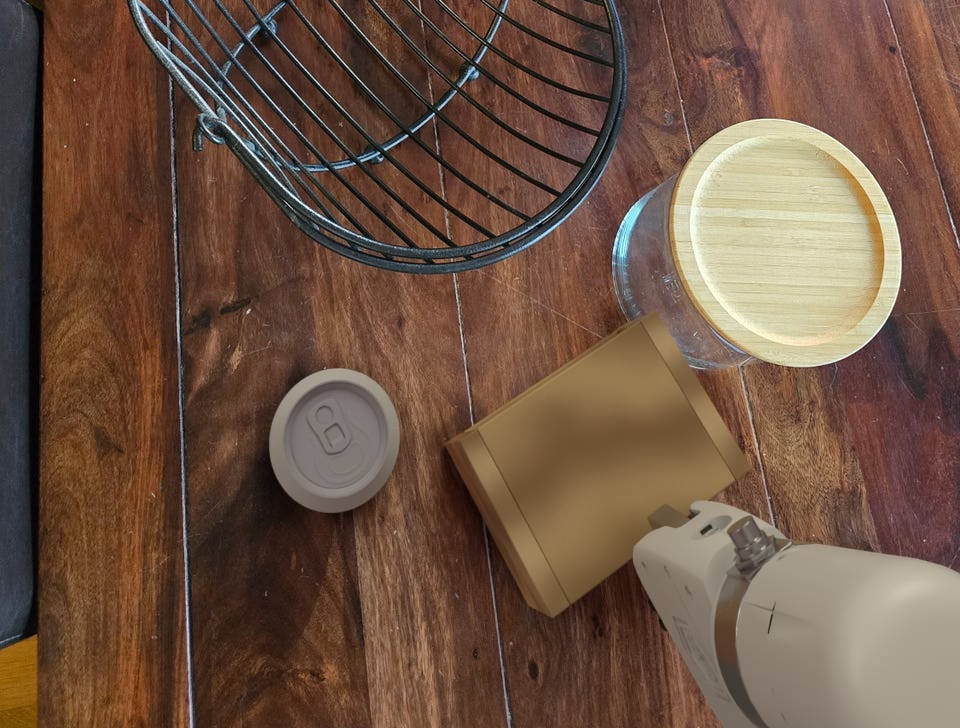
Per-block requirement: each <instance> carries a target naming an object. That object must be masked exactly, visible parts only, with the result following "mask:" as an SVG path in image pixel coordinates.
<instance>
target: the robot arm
mask: <svg viewBox="0 0 960 728" xmlns="http://www.w3.org/2000/svg"><path fill="white" fill-rule="evenodd" d="M689 512H690V514H691V515H690V516H691V517H692V518H690V517H689V516H688V517H686V516H685V515H683V514H681V513H680V512H678V511H677V510H675V509H674V508H672V507H670V506H669V505H667V504H664V505H662V506H661V507H660V508H658V509H657V510H656V511H654V512H653V513H652V514H650V515H649V516H647V519H648V522H649V524H650V526H651V528H652V530H653V531H651V532H649V533H648V534H647V535H646V536H644V537H643V538H642V539H641V540H640V541H639V542H638V543H637V544H636V545H635V546H634V549H633V559H632V563H633V566H634V569H635V572H636V574H637V577H638V578H639V580H640V583H641V584H642V586H643V588H644V590H645V592H646V594H647V596H648V600H647V603H648V605H649V607H650V609H651V611H652V612H655V613H656V615H657V614H658V615H657V616H658V619H657V621H658V623H659V625H660V626H661V628H662V630H663V631H664V632H667V633H668V634H669V636H670V638H671V640H672V643H674V645H675V647H676V649H677V650H678V653H679V654H680V656H681V658H682V660H683V662H684V663H685V665H686V668H687V669H688V671H689V673H690V674H691V676H692V678H693V680H694V681H695V683H696V685H697V687H698V688H699V690H700V691H701V694H702V696H703V697H704V699H705V700H706V702H707V704H708V706H709V708H710V709H711V711H712V713H713V715H714V716H715V717H716V720H717V721H718V723H719V724H720V725H721V727H722V728H960V572H958V571H956V570H954V569H952V568H949V567H947V566H945V565H942V564H939V563H935V562H931V561H927V560H924V559H920V558H915V557H910V556H902V555H895V554H888V553H881V552H874V551H869V550H861V549H856V548H855V549H854V548H848V547H842V546H835V545H827V544H822V543H818V542H811V541H803V540H798V539H797V540H796V539H790V538H789V539H788V538H787V537H786V535H784V534H783V533H782V531H780V530H779V529H778V528H776V527H775V526H773V525H771V524H770V523H768V522H767V521H765V520H763V519H761V518H760V517H757V516H755V515H753V514H751V513H750V512H747V511H745V510H743V509H741V508H738V507H735V506H732V505H730V504H726V503H723V502H718V501H713V500H709V501H694V502H692V503H691V505H690V511H689Z"/></svg>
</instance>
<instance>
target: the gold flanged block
mask: <svg viewBox="0 0 960 728" xmlns="http://www.w3.org/2000/svg"><path fill="white" fill-rule="evenodd" d="M444 446H445V448H446V451H447V452H448V455H449V456H450V458H451V460H452V461H453V463H454V466H455V468H456V469H457V471H458V473H459V475H460V477H461V479H462V481H463V483H464V485H465V487H466V489H467V490H468V492H469V495H470V496H471V498H472V500H473V502H474V504H475V506H476V507H477V510H478V512H479V513H480V516H481V517H482V519H483V521H484V523H485V525H486V527H487V529H488V532H489V533H490V534H491V537H492V539H493V541H494V542H495V545H496V546H497V548H498V550H499V552H500V555H501V556H502V558H503V560H504V561H505V564H506V566H507V568H508V570H509V571H510V574H511V575H512V577H513V579H514V581H515V583H516V585H517V587H518V589H519V591H520V592H521V594H522V597H523V599H524V600H525V602H526V604H527V606H529V607H530V608H532V609H534V610H536V611H537V612H539V613H541V614H543V615H545V616H547V617H548V618H550V619H555V618H556V617H557V616H559V615H560V614H561V613H563V612H565V610H566V609H568V608H569V607H570V605H573V604H575V603H576V602H577V601H579V600H581V598H583V597H584V596H585V595H587V594H588V593H589V592H590V591H592V590H593V589H594V588H596V587H597V586H598V585H600V584H601V583H602V582H604V581H605V580H607V579H608V578H609V577H610V576H611V575H613V574H614V573H615V572H617V571H618V570H620V569H621V568H622V567H623V566H626V564H628V563H629V562H630V561H631V560H633V549H634V546H635V545H636V544H637V543H638V542H639V541H640V540H641V539H642V538H643V537H644V536H646V535H647V534H648V533H649V532H651V531H653V530H652V528H651V526H650V524H649V522H648V519H647V516H649V515H650V514H652V513H653V512H654V511H656V510H657V509H658V508H660V507H661V506H662V505H664V504H667V505H669V506H670V507H672V508H674V509H675V510H677V511H678V512H680V513H681V514H683V515H685V516H686V517H688V518H689V517H690V516H692V515H691V514H690V512H689V511H690V505H691V503H692V502H694V501H712V499H713V498H714V497H716V496H718V495H719V494H720V493H721V492H723V491H724V490H726V489H727V488H728V487H730V486H731V485H732V484H733V483H735V481H738V480H739V479H741V478H742V477H743V476H744V475H746V474H747V473H748V472H749V471H751V470H752V468H753V467H752V466H751V464H750V463H749V461H748V460H747V458H746V456H745V454H744V453H743V451H742V449H741V448H740V446H739V444H738V443H737V441H736V439H735V438H734V436H733V435H732V433H731V431H730V429H729V428H728V426H727V425H726V424H725V421H724V420H723V419H722V416H721V415H720V413H719V412H718V410H717V408H716V407H715V405H714V403H713V402H712V400H711V398H710V397H709V395H708V393H707V392H706V390H705V388H704V387H703V385H702V384H701V382H700V380H699V378H698V377H697V376H696V374H695V372H694V371H693V369H692V368H691V366H690V364H689V362H688V360H687V359H686V358H685V355H684V354H683V353H682V350H680V347H679V345H678V344H677V343H676V341H675V339H674V338H673V336H672V334H671V333H670V331H669V329H668V328H667V326H666V325H665V323H664V321H663V320H662V318H661V317H660V315H659V313H658V311H657V310H656V309H654V310H652V311H649V312H647V313H645V314H643V315H641V316H638V317H636V318H634V319H632V320H630V321H627V322H625V323H624V324H622V325H621V326H619V327H618V328H617V329H614V330H613V331H611V333H609V334H608V335H607V336H605V337H604V338H602V339H601V340H599V341H598V342H596V343H594V344H593V345H592V346H590V347H589V348H587V349H586V350H584V351H583V352H581V353H579V354H578V355H576V356H575V357H574V358H572V359H571V360H568V361H567V362H566V363H565V364H563V365H561V366H560V367H559V368H557V369H555V370H554V371H553V372H551V373H550V374H548V375H546V376H545V377H543V378H542V379H540V380H539V381H537V382H536V383H534V384H533V385H532V386H530V387H528V388H527V389H526V390H523V392H521V393H519V394H518V395H517V396H515V397H513V398H512V399H510V400H509V401H508V402H505V403H504V404H503V405H501V406H500V407H499V408H498V407H497V408H496V409H495V410H494V411H492V412H491V413H489V414H488V415H487V416H485V417H484V418H481V419H480V420H479V421H477V422H476V423H474V424H473V425H471V426H470V427H468V428H466V429H465V430H464V431H463V432H460V433H458V434H457V435H455V436H454V437H452V438H450V439H449V440H448V441H446V442H445V443H444Z"/></svg>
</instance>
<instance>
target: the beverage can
mask: <svg viewBox="0 0 960 728" xmlns="http://www.w3.org/2000/svg"><path fill="white" fill-rule="evenodd" d="M399 422H400V421H399V417H398V414H397V411H396V409H395V406H394V403H393V402H392V400H391V398H390V397H389V395H388V393H387V392H386V391H385V390H384V388H383V387H382V386H380V384H379V383H377V382H376V381H375V379H373V378H371V377H370V376H368V375H366V374H364V373H362V372H360V371H357V370H353V369H350V368H344V367H343V368H341V367H338V368H336V367H335V368H328V369H327V368H326V369H322V370H319V371H316V372H313V373H312V374H310V375H308V376H306V377H303V378H302V379H301V380H300V381H299V382H298V383H296V384H295V385H293V387H292V388H291V389H290V390H289V391H288V392H287V393H286V395H285V396H284V397H283V399H282V400H281V402H280V403H279V405H278V407H277V409H276V411H275V413H274V416H273V418H272V422H271V426H270V431H269V439H268V441H269V442H268V443H269V444H268V449H269V459H270V463H271V467H272V471H273V473H274V475H275V477H276V479H277V481H278V483H279V485H280V486H281V488H282V489H283V490H284V492H285V493H287V495H288V496H289V497H291V499H292V500H294V501H295V502H297V503H298V504H300V506H303V507H305V508H307V509H310V510H312V511H315V512H319V513H325V514H335V513H343V512H347V511H350V510H353V509H356V508H358V507H360V506H362V505H363V504H365V503H367V502H368V501H370V500H371V499H372V498H373V497H375V496H376V495H377V493H379V491H381V489H382V488H383V487H384V485H385V484H386V482H387V481H388V480H389V478H390V476H391V474H392V472H393V470H394V468H395V464H396V463H397V460H398V456H399V451H400V443H401V442H400V441H401V430H400V423H399Z"/></svg>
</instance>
